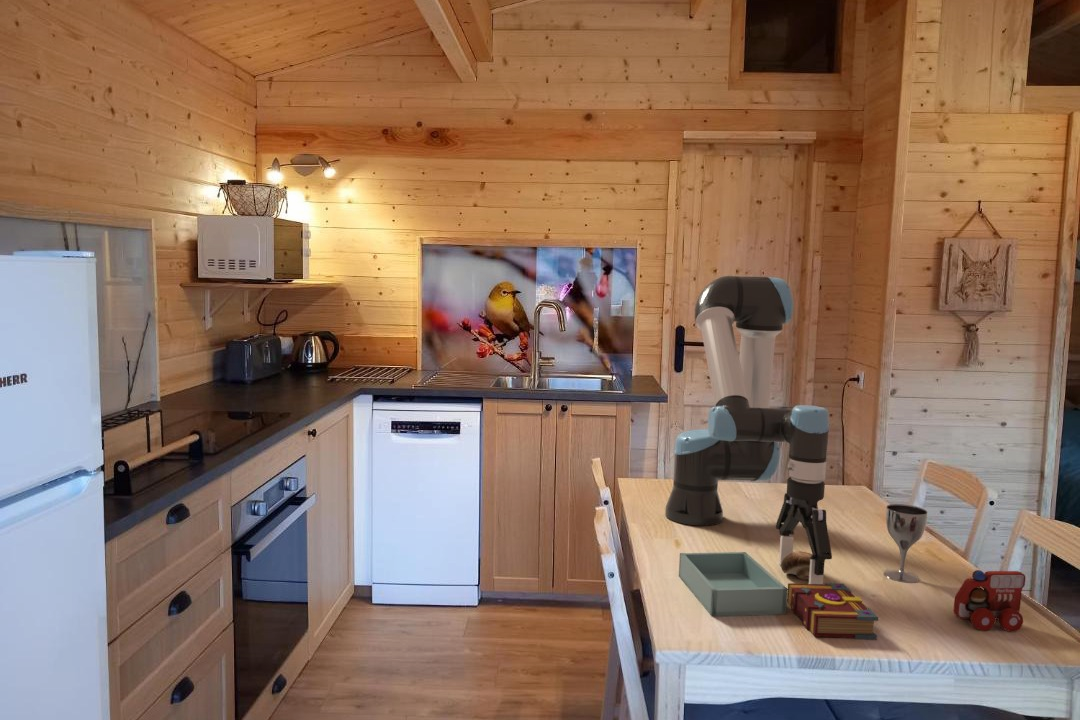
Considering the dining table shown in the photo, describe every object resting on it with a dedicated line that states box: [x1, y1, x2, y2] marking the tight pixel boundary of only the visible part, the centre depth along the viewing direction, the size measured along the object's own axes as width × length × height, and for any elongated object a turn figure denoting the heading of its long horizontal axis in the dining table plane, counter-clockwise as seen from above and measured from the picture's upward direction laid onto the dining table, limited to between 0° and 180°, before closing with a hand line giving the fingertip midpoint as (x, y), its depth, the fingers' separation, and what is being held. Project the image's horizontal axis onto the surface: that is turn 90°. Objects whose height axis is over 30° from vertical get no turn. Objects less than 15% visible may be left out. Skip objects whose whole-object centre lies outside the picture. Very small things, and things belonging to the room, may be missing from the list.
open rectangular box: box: [678, 551, 788, 617], centre depth 150 cm, size 20×15×5 cm
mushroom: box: [780, 550, 812, 581], centre depth 160 cm, size 8×8×6 cm
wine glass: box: [883, 503, 928, 584], centre depth 162 cm, size 8×8×15 cm
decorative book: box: [787, 582, 879, 640], centre depth 140 cm, size 11×16×5 cm
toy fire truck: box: [953, 569, 1026, 632], centre depth 140 cm, size 7×12×10 cm, turn 91°
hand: (799, 576), depth 161 cm, fingers open, 13 cm apart
